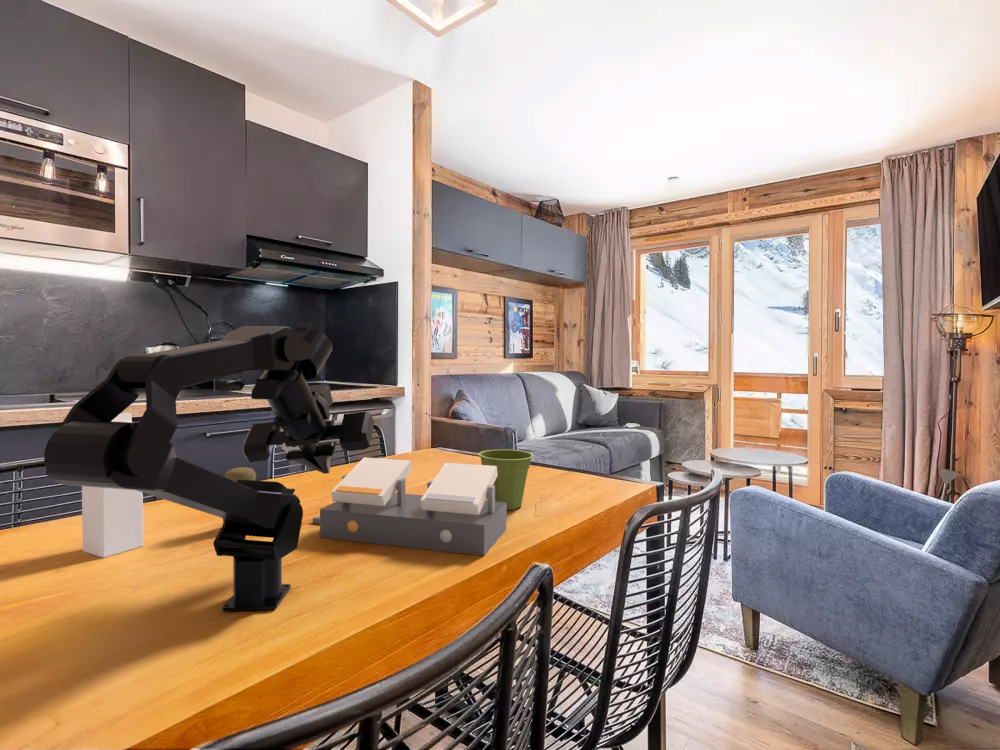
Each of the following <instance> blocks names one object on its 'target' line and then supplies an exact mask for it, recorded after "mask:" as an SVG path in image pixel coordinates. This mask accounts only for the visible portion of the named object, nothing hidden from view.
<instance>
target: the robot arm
mask: <svg viewBox="0 0 1000 750" xmlns="http://www.w3.org/2000/svg"><path fill="white" fill-rule="evenodd" d="M292 331H293V330H292V328H291V327H289V326H287V325H285V326H284V325H283V326H282V325H276V326H275V325H274V326H272V325H268V326H266V325H263V326H262V325H261V326H260V325H252V326H251V325H249V326H248V325H244V326H241V327H238V328H235V329H234V330H231V331H229V332H227V333H226V334H225V336H224V338H222V339H219V340H217V341H211V342H204V343H199V344H194V345H189V346H182V347H177V348H171V349H167V350H160V351H156V352H150V353H130V354H128V355H126V356H124V357H121V358H120V359H119V360H117V362H116V363H115V364H114V366H113V368H111V370H110V372H109V374H108V375H107V376H106V378H105V380H103V381H102V382H101V383H99V384H98V385H96V387H94V388H93V389H92V390H90V391H89V392H88V393H87V394H86V395H85V396H84V397H82V398H81V399H79V400H78V401H77V402H76V403H75V404H73V406H72V407H71V409H69V411H68V413H67V415H66V416H65V418H64V419H63V421H62V423H61V424H60V425H59V427H58V428H57V429H56V430H55V431H54V432H53V433H52V435H51V436H50V438H49V440H48V441H47V443H46V445H45V449H44V452H43V455H44V456H43V459H44V460H43V462H44V466H45V469H46V470H45V474H46V476H47V477H48V478H49V479H50V480H51V481H53V482H55V483H57V484H60V485H64V486H78V487H82V486H87V487H100V488H113V489H126V490H137V491H140V492H143V494H146V495H150V496H152V497H155V498H159V499H162V500H165V501H168V502H172V503H175V504H178V505H180V506H184V507H187V508H191V509H193V510H197V511H199V512H203V513H207V514H209V515H212V516H215V517H219V518H221V519H222V520H223V521H222V525H221V528H220V529H219V532H218V533H217V535H216V536H215V538H214V540H213V543H212V544H213V547H214V551H215V554H216V556H217V557H224V556H225V557H232V575H233V576H232V578H233V584H232V585H233V586H232V587H233V589H232V593H233V594H232V596H230V597H229V598H228V599H227V601H226V602H225V603H224V604H222V606H221V610H222V611H223V612H224V611H225V612H228V611H229V612H232V611H234V612H235V611H236V612H238V611H265V610H266V611H267V610H268V611H269V610H270V611H271V610H276V609H277V608H278V607H279V605H280V604H281V602H282V601H283V599H284V598H285V597H286V595H287V594H288V593H289V591H290V590H291V588H292V587H291V584H290V583H286V584H285V583H283V577H282V575H283V573H282V572H283V569H282V568H283V566H282V565H283V562H282V560H283V559H282V558H284V557H286V556H288V555H289V554H291V553H292V552H294V551H295V550H297V548H298V545H299V539H300V534H301V529H302V523H303V515H304V509H303V506H302V504H301V500H300V499H299V496H297V495H296V494H294V493H295V491H296V489H295V488H287V486H285V485H284V484H283V483H281V482H279V481H271V480H269V481H268V480H237V482H235V481H232V480H230V479H228V478H226V477H225V476H223V475H220V474H219V473H217V472H214V471H212V470H210V469H207V468H204V467H202V466H200V465H198V464H196V463H194V462H191V461H189V460H186V459H183V458H181V457H180V456H178V455H177V453H176V450H175V449H176V448H175V446H174V443H173V442H172V441H171V440H172V437H173V436H174V434H175V432H176V430H177V427H178V416H177V402H176V401H177V398H178V396H179V394H180V392H181V391H182V389H186V388H188V387H189V388H190V387H193V386H197V385H199V384H203V383H207V382H211V381H214V380H217V379H221V378H224V377H229V376H231V375H235V374H239V373H241V372H247V371H264V372H263V373H262V374H261V376H260V377H259V378H255V384H254V387H253V388H252V389H251V394H250V398H251V399H252V400H267V403H268V405H269V406H270V408H271V410H272V412H273V414H274V415H275V417H274V419H273V421H272V422H262V423H253V424H252V425H251V426H250V429H249V431H248V433H247V435H246V438H245V440H244V443H243V445H242V447H241V448H242V454H243V456H244V458H246V460H247V461H248V463H255V462H265V461H268V459H269V457H270V456H271V452H270V450H269V448H270V446H274V445H282V446H281V449H282V450H284V451H285V453H286V455H285V459H286V461H288V462H291V461H292V462H295V463H298V464H301V465H304V466H305V467H308V468H311V469H313V470H315V471H317V472H319V473H322V474H325V475H326V474H329V473H330V471H331V457H333V455H335V452H336V451H335V450H336V447H337V443H338V441H339V445H340V448H341V449H342V450H345V451H347V452H354V451H363V450H367V449H368V448H369V447H370V446H371V441H372V436H373V430H374V425H375V421H374V418H373V415H372V414H371V413H370V412H369V411H360V412H350V413H349V412H348V413H344V414H343V418H342V421H341V424H336V420H333V419H332V420H329V419H330V416H331V413H330V410H329V408H330V406H331V405H332V406H333V404H334V400H333V396H332V392H331V387H330V385H329V384H328V383H323V384H315V385H309V384H308V382H307V380H308V381H309V380H313V379H315V378H317V376H318V374H319V373H320V372H321V369H322V368H323V366H324V364H325V363H326V361H327V360H328V358H329V357H330V355H331V353H332V352H333V342H332V340H331V339H330V338H329V337H328V336H327V335H326V334H325V333H323V332H322V331H320V330H319V329H316V328H314V326H313V324H312V322H299V323H298V324H297V325H296V327H295V328H294V331H293V332H292ZM139 396H145V402H146V403H145V407H146V408H145V410H144V412H143V415H142V416H141V417H140V420H139V422H135V421H132V422H111V421H112V420H113V419H114V418H116V417H117V416H118V415H119V414H120V413H124V411H125V410H126V409H127V408H129V406H131V405H132V404H133V403H134V402H136V400H137V399H138V397H139ZM223 523H224V524H223ZM247 536H249V537H257V538H258V537H259V538H272V541H269V540H256V539H255V540H254V539H246V538H247Z"/></svg>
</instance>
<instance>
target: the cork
mask: <svg viewBox="0 0 1000 750" xmlns="http://www.w3.org/2000/svg"><path fill="white" fill-rule="evenodd" d="M224 477H226V478H228V479H230V480H232V481H235V482H237V480H255V481H257V473H256V471H255V470H254V468H251V467H246V466H243V467H241V466H240V467H235V468H230V469H229V470H227V471H226V472H225V474H224ZM223 524H224V523H223V522H222V525H223Z"/></svg>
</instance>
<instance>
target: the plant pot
mask: <svg viewBox="0 0 1000 750" xmlns="http://www.w3.org/2000/svg"><path fill="white" fill-rule="evenodd" d="M478 457H479V458H480V461H481V465H489V466H497V474H498V476H497V478H496V480H495V482H494V484H493V485H494V486H495V501H497V502H507V511H513V510H518V508H520V507H522V504H523V498H524V493H525V488H526V482H527V479H528V478H527V477H528V471H529V469H530V465H531V462H532V459H533V458H534V454H533V453H532V452H529V451H525V450H517V449H487V450H482V451H480V452H478ZM486 501H488V497H487V499H486Z"/></svg>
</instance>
